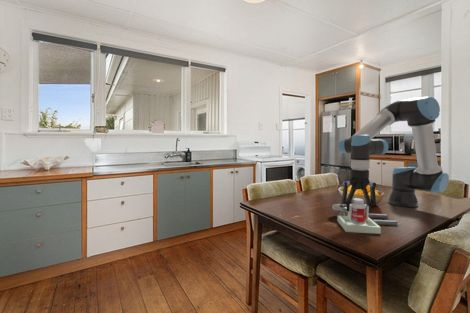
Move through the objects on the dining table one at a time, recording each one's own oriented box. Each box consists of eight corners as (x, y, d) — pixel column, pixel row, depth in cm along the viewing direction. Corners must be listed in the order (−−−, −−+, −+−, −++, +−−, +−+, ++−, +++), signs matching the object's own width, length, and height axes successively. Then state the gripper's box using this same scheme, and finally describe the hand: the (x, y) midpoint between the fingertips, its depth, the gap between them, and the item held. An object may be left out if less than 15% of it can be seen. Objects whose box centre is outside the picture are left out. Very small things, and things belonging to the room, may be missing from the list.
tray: (367, 222, 115) (367, 216, 115) (380, 233, 101) (380, 227, 101) (337, 220, 117) (337, 215, 117) (345, 231, 103) (346, 225, 103)
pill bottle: (348, 223, 109) (349, 199, 108) (352, 219, 113) (353, 197, 112) (363, 226, 105) (364, 202, 104) (366, 222, 109) (367, 199, 108)
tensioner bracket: (386, 217, 121) (386, 214, 121) (397, 225, 110) (397, 221, 110) (365, 216, 123) (365, 213, 123) (374, 224, 112) (374, 220, 112)
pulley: (349, 214, 126) (350, 202, 126) (356, 221, 117) (356, 208, 116) (329, 213, 128) (330, 202, 128) (334, 219, 118) (335, 207, 118)
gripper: (379, 168, 109) (377, 217, 111) (334, 167, 112) (333, 214, 114) (387, 170, 102) (384, 222, 104) (339, 169, 105) (337, 220, 107)
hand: (357, 218), depth 109 cm, fingers open, 6 cm apart
